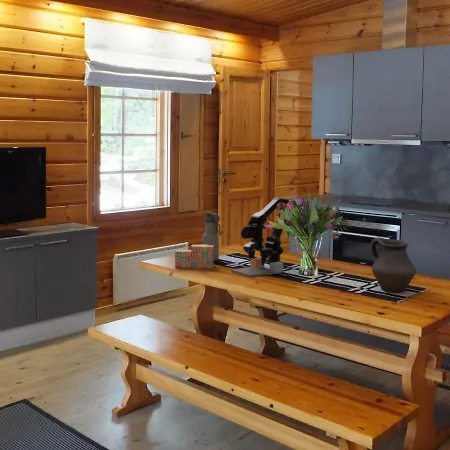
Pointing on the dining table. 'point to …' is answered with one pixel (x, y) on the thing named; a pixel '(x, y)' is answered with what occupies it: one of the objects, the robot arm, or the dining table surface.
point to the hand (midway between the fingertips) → (257, 264)
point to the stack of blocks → (195, 257)
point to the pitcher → (392, 265)
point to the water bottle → (211, 232)
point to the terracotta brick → (256, 262)
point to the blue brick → (276, 267)
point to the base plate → (252, 271)
